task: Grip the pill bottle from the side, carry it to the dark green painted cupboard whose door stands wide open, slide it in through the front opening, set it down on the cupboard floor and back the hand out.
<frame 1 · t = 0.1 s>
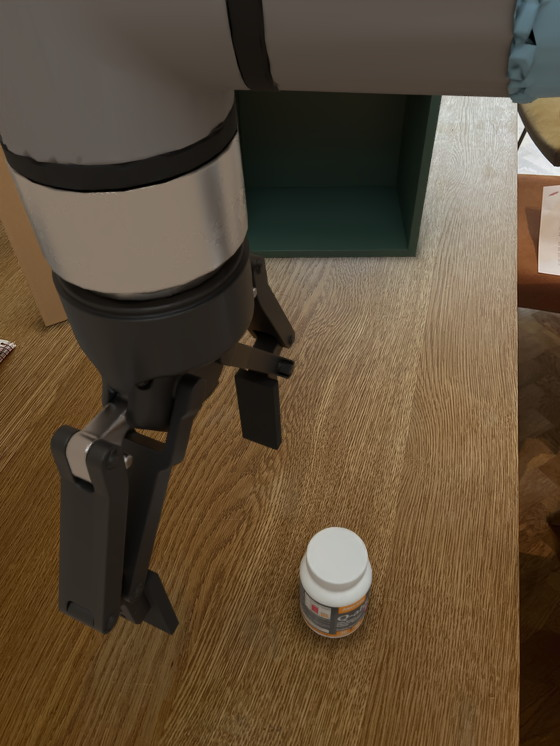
hand: (214, 520, 39), 19 cm above the table, tool pointing down, fingers open, 13 cm apart
cupboard door: (113, 195, 75), point 13 cm above the table, hinge at 150.0°
cupboard: (321, 221, 93), on the table
plate: (168, 102, 124), on the table
pill bottle: (332, 607, 54), on the table
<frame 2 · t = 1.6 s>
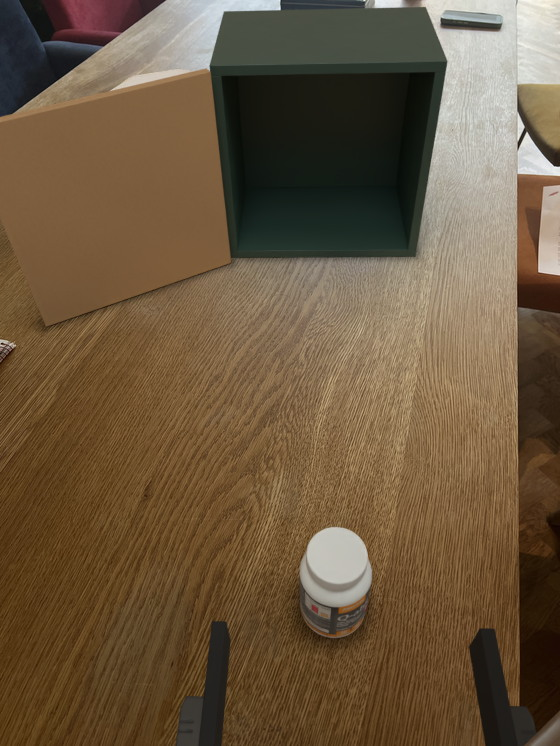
hand: (350, 633, 32), 20 cm above the table, tool horizontal, fingers open, 13 cm apart
nothing on the table moved.
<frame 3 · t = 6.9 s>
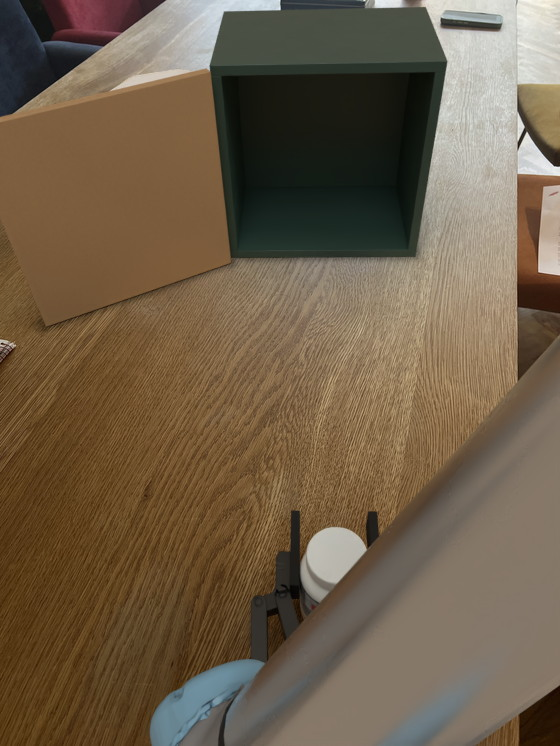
hand: (333, 519, 52), 6 cm above the table, tool horizontal, fingers closed on pill bottle, 6 cm apart
pill bottle: (332, 607, 54), on the table, touching gripper
everything else where it was.
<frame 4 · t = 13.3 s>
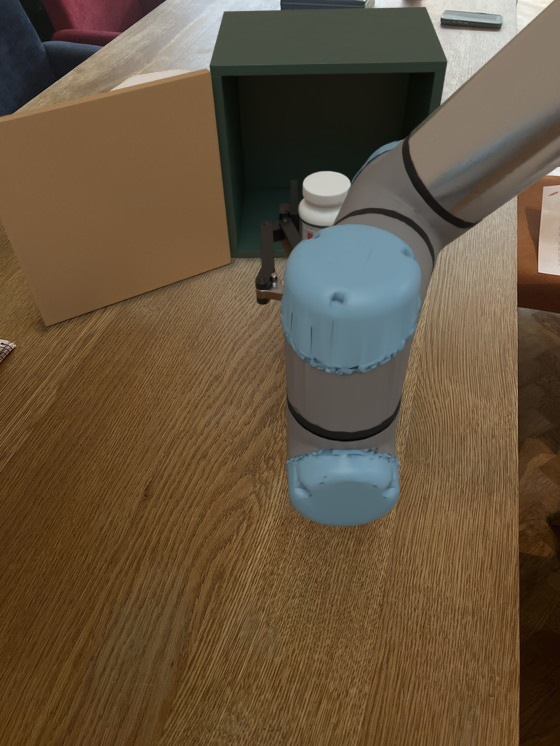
hand: (324, 190, 66), 18 cm above the table, tool horizontal, fingers closed on pill bottle, 6 cm apart
pill bottle: (324, 266, 67), point 12 cm above the table, touching gripper
everything else where it was.
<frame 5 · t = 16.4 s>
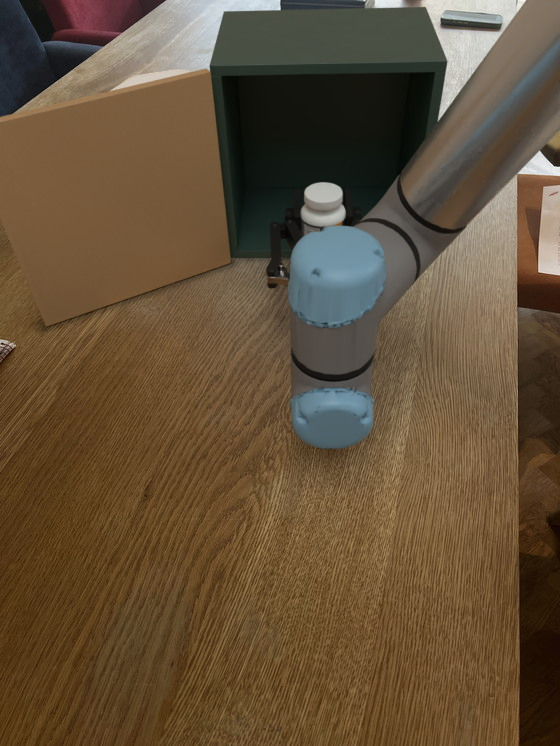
hand: (321, 197, 80), 9 cm above the table, tool horizontal, fingers closed on pill bottle, 6 cm apart
pill bottle: (322, 260, 82), point 3 cm above the table, touching gripper
everything else where it was.
when the fingers open (7 cm above the table, at t = 19.7 s): pill bottle stays where it is, resting on cupboard.
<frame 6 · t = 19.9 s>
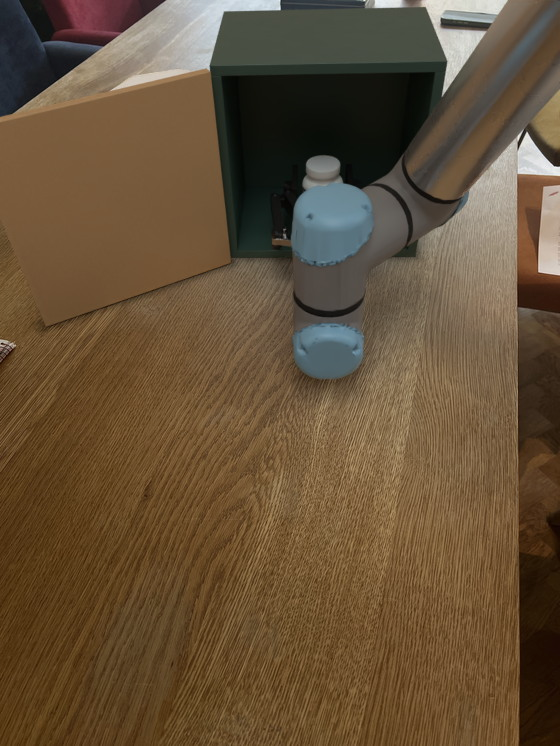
hand: (321, 172, 90), 7 cm above the table, tool horizontal, fingers open, 7 cm apart
pill bottle: (321, 226, 91), point 1 cm above the table, touching cupboard
everything else where it was.
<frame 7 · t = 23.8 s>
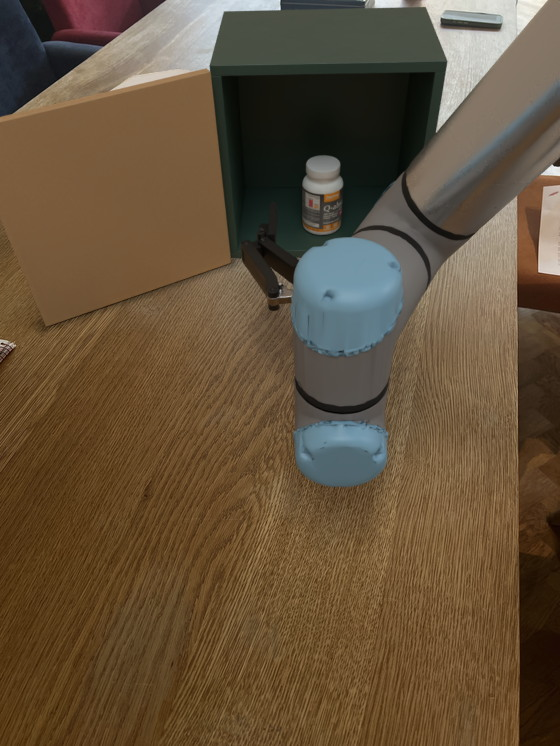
hand: (330, 211, 73), 12 cm above the table, tool horizontal, fingers open, 13 cm apart
nothing on the table moved.
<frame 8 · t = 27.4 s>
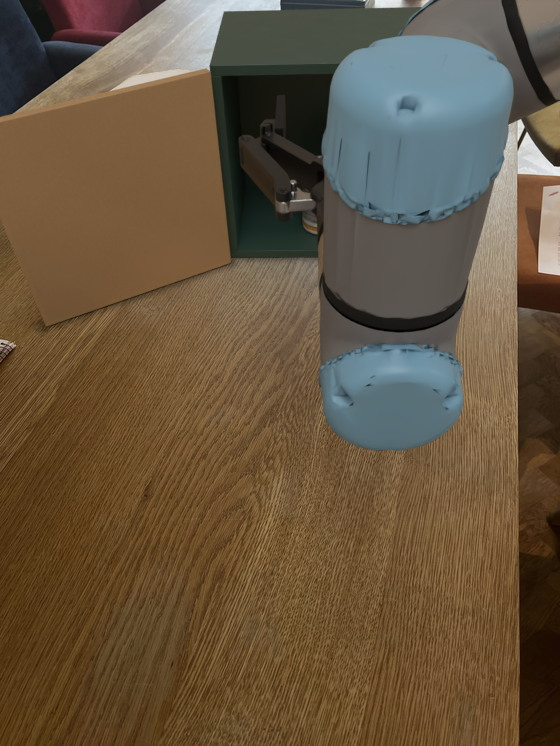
hand: (355, 108, 57), 28 cm above the table, tool horizontal, fingers open, 13 cm apart
nothing on the table moved.
at the end: pill bottle inside the target area in the cupboard (3.0 cm from its centre), point 1.0 cm above the cupboard's base; pill bottle tilted 0°; the gripper is holding nothing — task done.
